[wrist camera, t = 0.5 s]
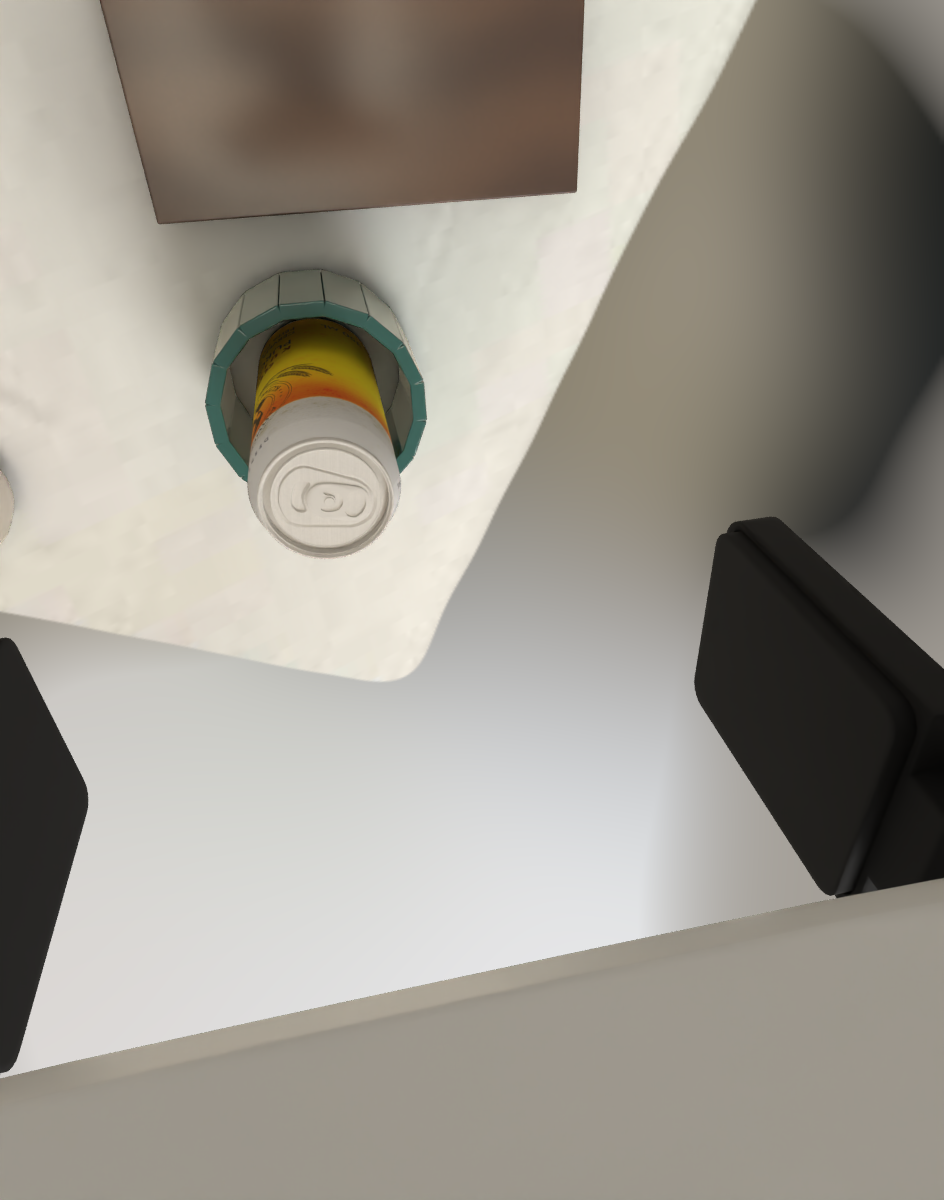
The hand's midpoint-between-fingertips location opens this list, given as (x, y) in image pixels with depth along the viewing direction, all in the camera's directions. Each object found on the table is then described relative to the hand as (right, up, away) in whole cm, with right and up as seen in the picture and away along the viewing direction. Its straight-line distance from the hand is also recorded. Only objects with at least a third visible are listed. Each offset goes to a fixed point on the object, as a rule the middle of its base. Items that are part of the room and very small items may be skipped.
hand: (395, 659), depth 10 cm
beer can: (-7, +13, +31) cm, 35 cm away
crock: (-7, +13, +31) cm, 35 cm away
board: (-4, +25, +23) cm, 35 cm away
